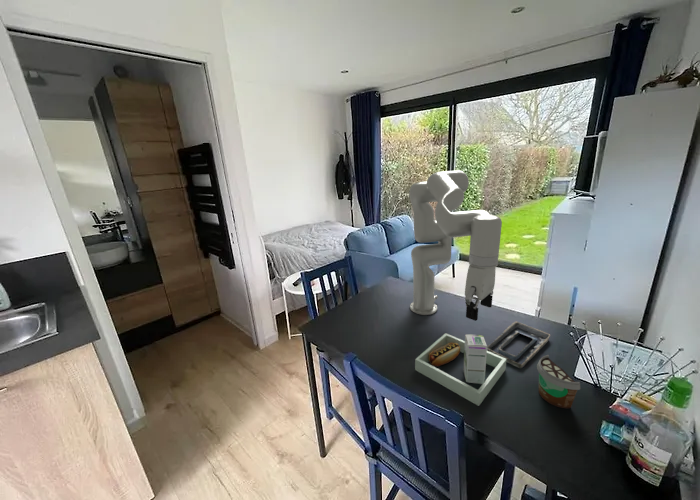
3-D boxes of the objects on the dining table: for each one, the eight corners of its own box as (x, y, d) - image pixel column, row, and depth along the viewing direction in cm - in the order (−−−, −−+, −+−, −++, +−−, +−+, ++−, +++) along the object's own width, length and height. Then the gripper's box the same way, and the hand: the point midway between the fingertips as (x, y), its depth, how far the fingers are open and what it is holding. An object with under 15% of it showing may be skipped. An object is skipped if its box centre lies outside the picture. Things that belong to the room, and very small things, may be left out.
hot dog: (463, 357, 104) (464, 345, 102) (436, 372, 98) (437, 360, 96) (452, 350, 108) (453, 338, 106) (426, 364, 102) (426, 352, 100)
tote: (445, 343, 112) (445, 333, 110) (505, 370, 96) (506, 358, 95) (415, 369, 99) (415, 359, 98) (478, 406, 84) (479, 393, 82)
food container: (524, 382, 91) (528, 355, 88) (542, 380, 91) (547, 353, 88) (553, 415, 79) (559, 386, 76) (575, 412, 79) (581, 383, 76)
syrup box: (484, 384, 91) (488, 346, 86) (465, 382, 92) (467, 344, 88) (481, 371, 96) (484, 334, 92) (462, 370, 98) (464, 333, 93)
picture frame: (550, 340, 110) (551, 334, 109) (522, 372, 95) (523, 365, 94) (514, 326, 120) (514, 320, 119) (483, 353, 105) (484, 346, 105)
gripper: (483, 248, 90) (479, 297, 95) (455, 265, 79) (453, 319, 84) (509, 253, 84) (503, 305, 90) (483, 271, 73) (478, 329, 79)
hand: (478, 312), depth 87 cm, fingers open, 9 cm apart
